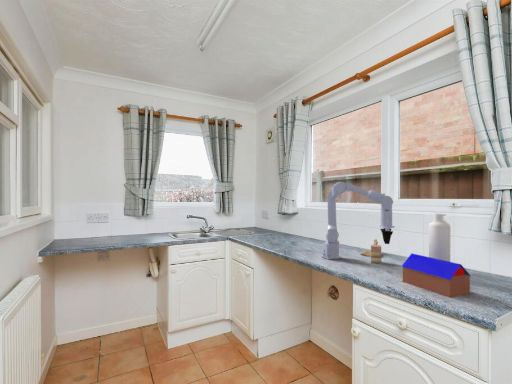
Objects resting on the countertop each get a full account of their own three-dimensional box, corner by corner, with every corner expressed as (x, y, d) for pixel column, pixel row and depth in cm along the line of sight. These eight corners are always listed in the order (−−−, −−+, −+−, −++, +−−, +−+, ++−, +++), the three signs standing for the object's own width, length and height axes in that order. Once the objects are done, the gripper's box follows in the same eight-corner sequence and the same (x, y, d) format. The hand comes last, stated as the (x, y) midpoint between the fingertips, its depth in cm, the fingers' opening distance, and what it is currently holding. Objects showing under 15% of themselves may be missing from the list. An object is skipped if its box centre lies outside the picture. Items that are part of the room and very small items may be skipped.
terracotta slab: (381, 252, 148) (381, 246, 148) (371, 251, 149) (371, 246, 149) (380, 250, 152) (380, 245, 152) (370, 250, 154) (370, 244, 154)
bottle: (443, 280, 120) (443, 215, 120) (425, 275, 127) (425, 213, 127) (454, 277, 123) (454, 214, 124) (435, 273, 131) (435, 213, 131)
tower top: (381, 258, 148) (381, 252, 148) (371, 257, 149) (371, 251, 149) (380, 256, 152) (380, 250, 152) (370, 255, 154) (370, 250, 154)
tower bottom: (381, 263, 148) (381, 258, 148) (371, 263, 149) (371, 257, 149) (380, 261, 152) (380, 256, 152) (370, 261, 154) (370, 255, 154)
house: (450, 298, 99) (450, 265, 99) (401, 282, 117) (401, 254, 117) (471, 294, 103) (471, 262, 104) (421, 279, 122) (421, 252, 122)
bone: (389, 252, 170) (376, 255, 161) (378, 260, 176) (365, 264, 166) (378, 237, 176) (365, 240, 166) (367, 246, 181) (354, 249, 172)
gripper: (396, 219, 144) (396, 245, 144) (393, 217, 157) (393, 241, 157) (381, 218, 146) (381, 244, 146) (379, 216, 160) (379, 240, 160)
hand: (386, 242), depth 152 cm, fingers open, 7 cm apart
